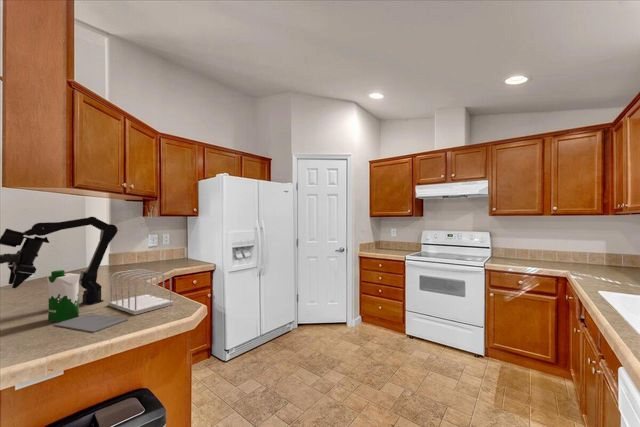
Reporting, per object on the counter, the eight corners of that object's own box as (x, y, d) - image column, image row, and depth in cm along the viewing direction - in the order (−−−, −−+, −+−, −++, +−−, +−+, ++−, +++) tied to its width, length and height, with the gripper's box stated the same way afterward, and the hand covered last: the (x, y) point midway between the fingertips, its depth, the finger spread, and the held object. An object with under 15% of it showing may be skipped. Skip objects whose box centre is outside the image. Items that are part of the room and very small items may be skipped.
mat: (90, 314, 124) (90, 313, 124) (127, 320, 117) (127, 319, 117) (53, 325, 111) (53, 324, 111) (93, 332, 104) (93, 331, 104)
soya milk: (43, 321, 116) (44, 271, 117) (69, 313, 125) (69, 267, 125) (57, 323, 114) (58, 272, 114) (83, 316, 122) (83, 268, 122)
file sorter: (173, 305, 137) (173, 272, 137) (134, 316, 122) (134, 279, 123) (146, 297, 151) (146, 267, 151) (108, 306, 136) (108, 273, 136)
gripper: (0, 243, 125) (-19, 279, 121) (8, 247, 114) (-13, 287, 110) (34, 249, 133) (17, 283, 129) (44, 254, 122) (26, 291, 118)
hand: (11, 286), depth 121 cm, fingers open, 9 cm apart
